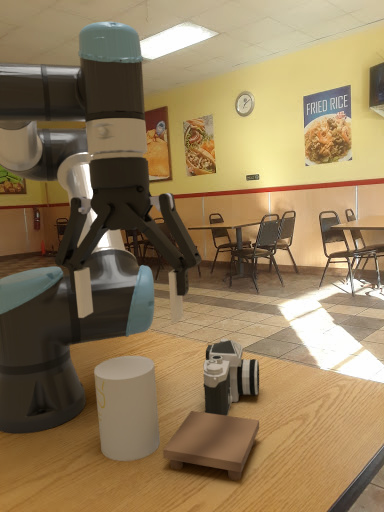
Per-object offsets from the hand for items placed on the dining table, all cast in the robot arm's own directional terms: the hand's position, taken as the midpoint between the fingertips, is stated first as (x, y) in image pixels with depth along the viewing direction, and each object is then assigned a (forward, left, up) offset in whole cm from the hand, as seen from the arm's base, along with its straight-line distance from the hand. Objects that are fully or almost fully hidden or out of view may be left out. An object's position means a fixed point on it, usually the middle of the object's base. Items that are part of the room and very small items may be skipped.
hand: (130, 317), depth 59 cm
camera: (+9, +17, -19) cm, 27 cm away
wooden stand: (+11, 0, -19) cm, 22 cm away
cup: (-1, -1, -19) cm, 19 cm away
